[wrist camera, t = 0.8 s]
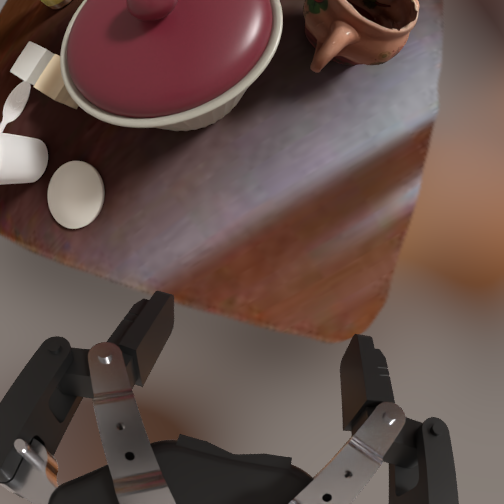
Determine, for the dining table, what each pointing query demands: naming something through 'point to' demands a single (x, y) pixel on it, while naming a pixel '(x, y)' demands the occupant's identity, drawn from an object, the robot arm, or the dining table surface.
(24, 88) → the spoon
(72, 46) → the canister
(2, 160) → the can
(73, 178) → the cream saucer
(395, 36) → the decorative planter
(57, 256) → the dining table surface
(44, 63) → the white rectangular block
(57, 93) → the beech block
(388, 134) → the dining table surface
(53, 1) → the sauce bottle
